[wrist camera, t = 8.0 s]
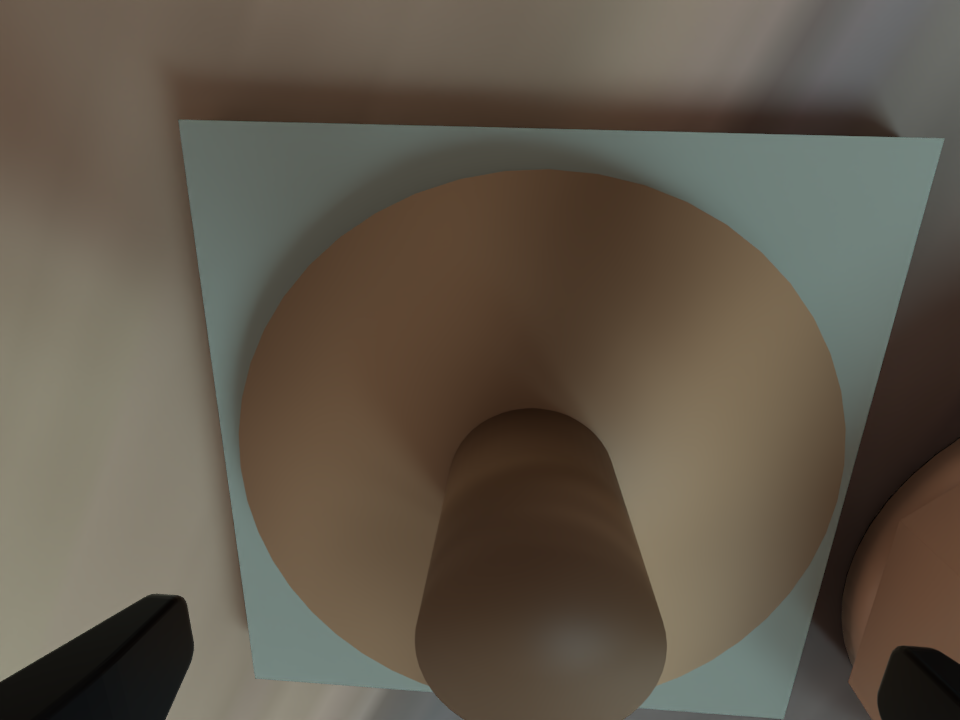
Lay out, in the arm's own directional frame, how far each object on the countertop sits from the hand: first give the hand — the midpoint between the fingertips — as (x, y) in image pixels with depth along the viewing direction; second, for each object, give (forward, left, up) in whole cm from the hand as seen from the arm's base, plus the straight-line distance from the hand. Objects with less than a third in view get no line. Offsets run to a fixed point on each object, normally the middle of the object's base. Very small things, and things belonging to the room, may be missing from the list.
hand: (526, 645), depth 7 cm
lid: (0, 0, -5) cm, 5 cm away
